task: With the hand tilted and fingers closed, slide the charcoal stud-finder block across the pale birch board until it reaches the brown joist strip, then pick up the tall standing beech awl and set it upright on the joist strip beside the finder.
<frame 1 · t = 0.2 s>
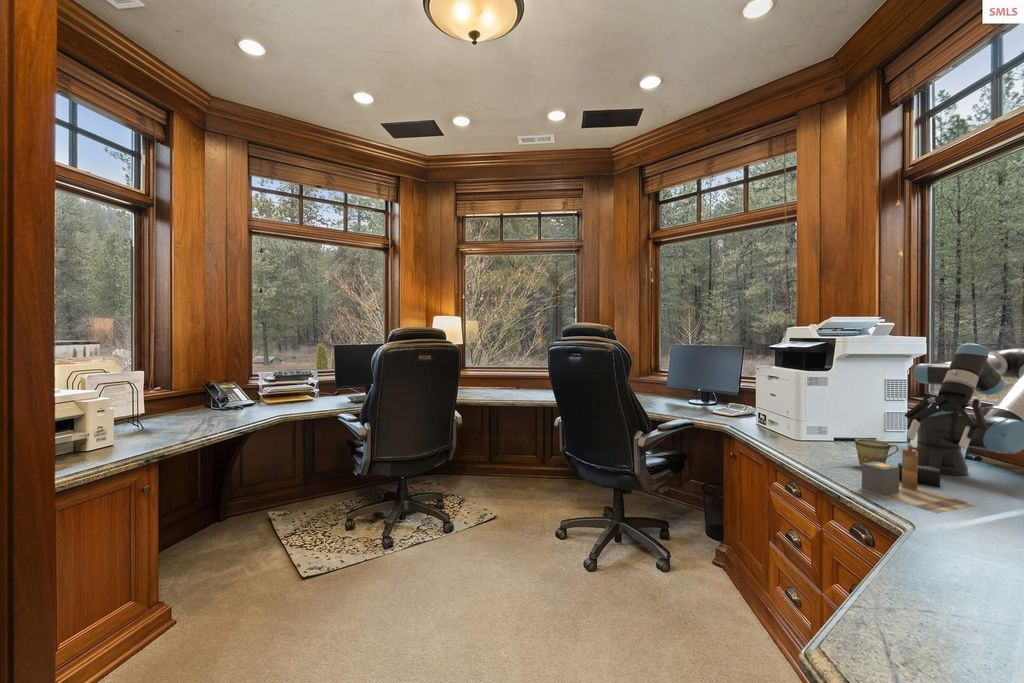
hand: (934, 442, 135), 15 cm above the worktop, tool tilted 35°, fingers open, 13 cm apart
ceramic cup: (876, 469, 157), on the worktop
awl: (909, 487, 134), point 1 cm above the worktop, touching birch board
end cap: (918, 486, 140), on the worktop
stud finder: (880, 490, 132), point 1 cm above the worktop, touching birch board
birch board: (915, 500, 127), on the worktop
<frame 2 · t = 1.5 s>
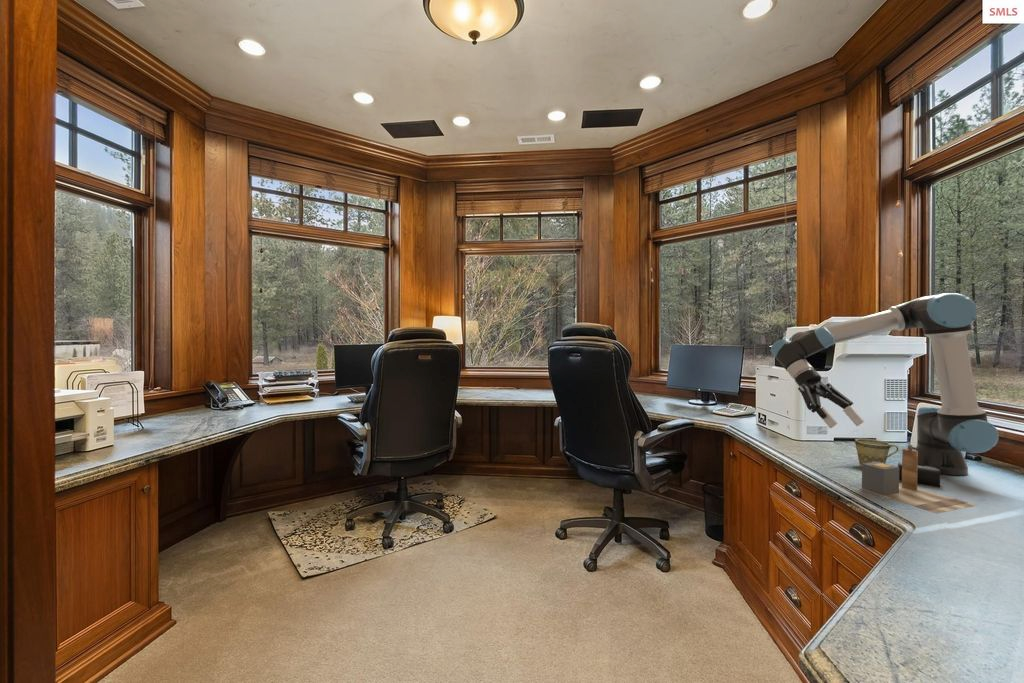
hand: (847, 424, 141), 20 cm above the worktop, tool tilted 45°, fingers open, 12 cm apart
nothing on the worktop moved.
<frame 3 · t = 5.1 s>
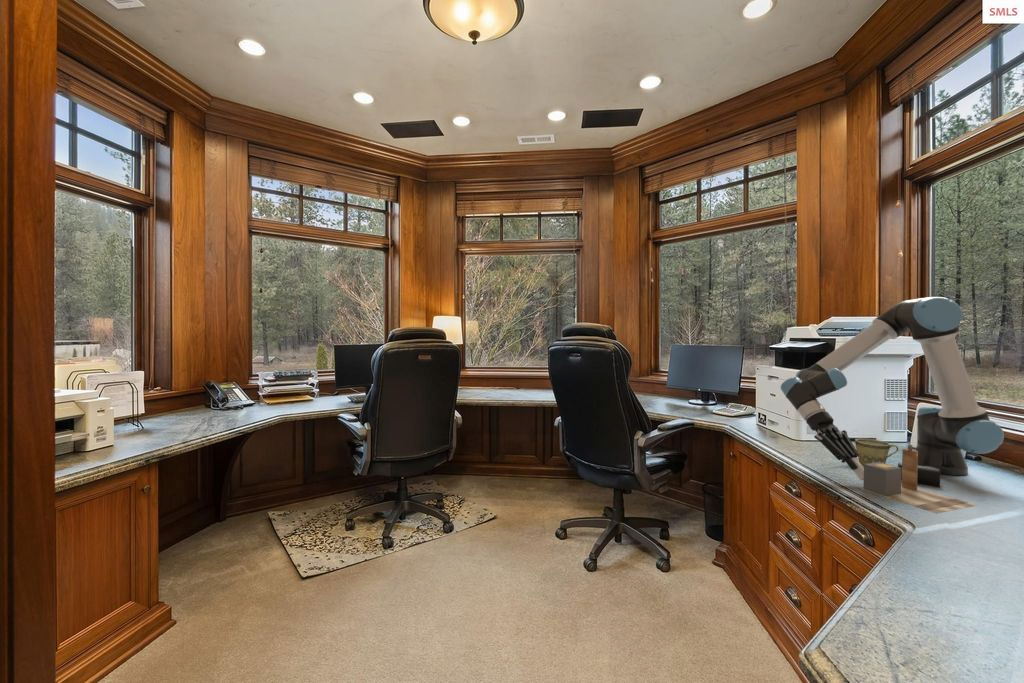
hand: (865, 478, 135), 4 cm above the worktop, tool tilted 45°, fingers closed
stud finder: (881, 491, 131), point 1 cm above the worktop, touching birch board, gripper
everything else where it was.
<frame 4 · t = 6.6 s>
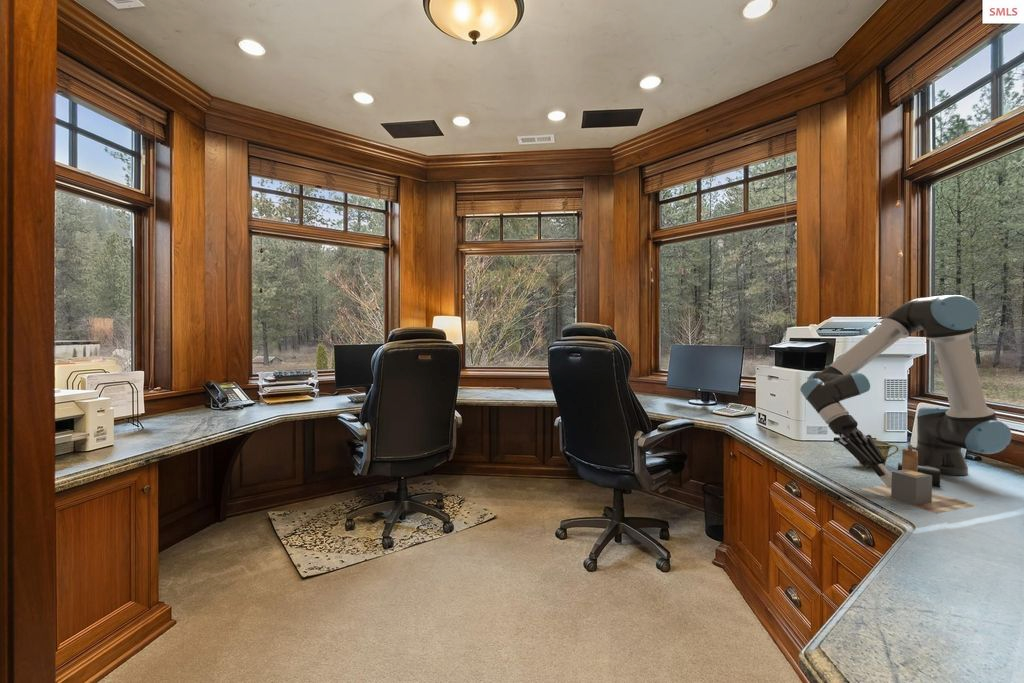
hand: (893, 485, 128), 4 cm above the worktop, tool tilted 45°, fingers closed
stud finder: (911, 500, 124), point 1 cm above the worktop, touching birch board, gripper
everything else where it was.
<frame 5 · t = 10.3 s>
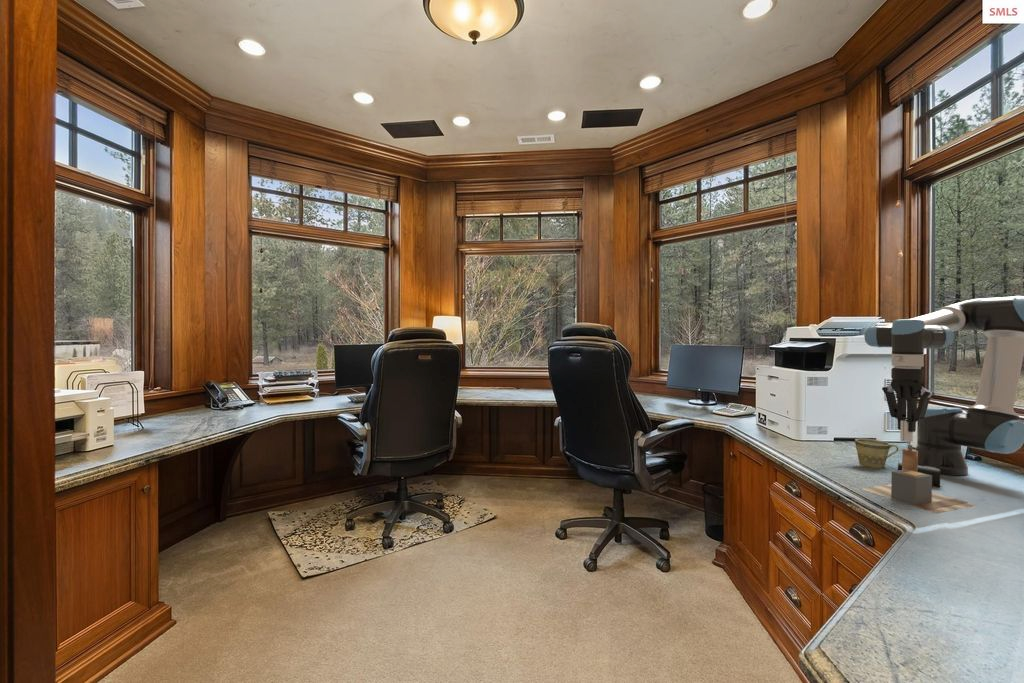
hand: (906, 441, 135), 16 cm above the worktop, tool pointing down, fingers closed
stud finder: (911, 500, 124), point 1 cm above the worktop, touching birch board
everything else where it was.
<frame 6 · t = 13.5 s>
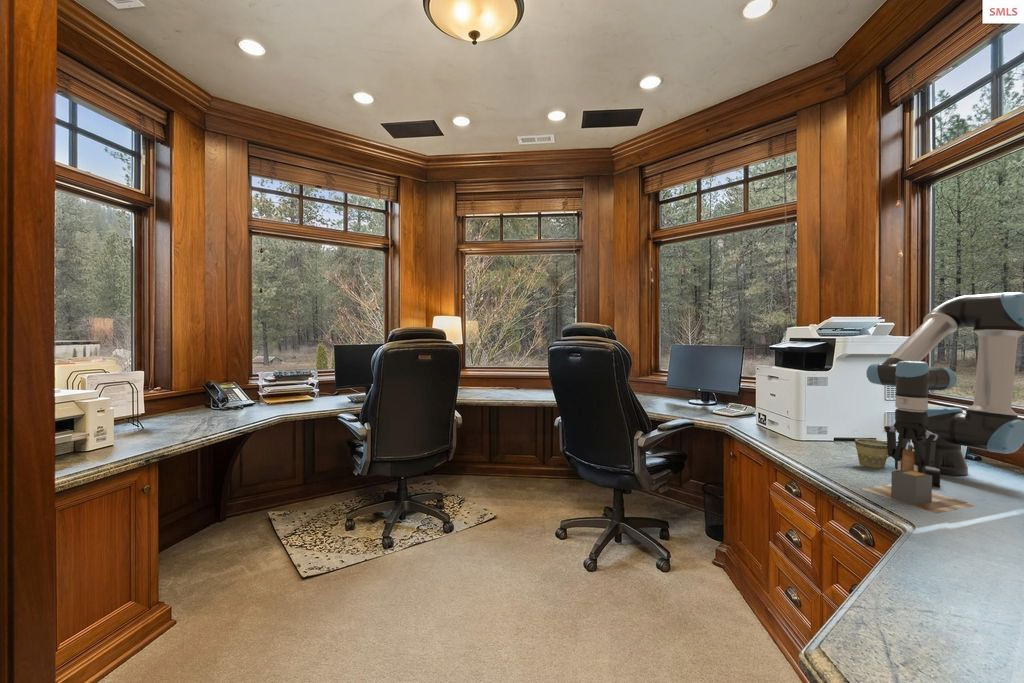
hand: (909, 482, 134), 3 cm above the worktop, tool pointing down, fingers closed on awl, 3 cm apart
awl: (909, 487, 134), point 1 cm above the worktop, touching birch board, gripper
everything else where it was.
when the fingers open (4 cm above the worktop, at t = 17.8 s): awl stays where it is, resting on birch board.
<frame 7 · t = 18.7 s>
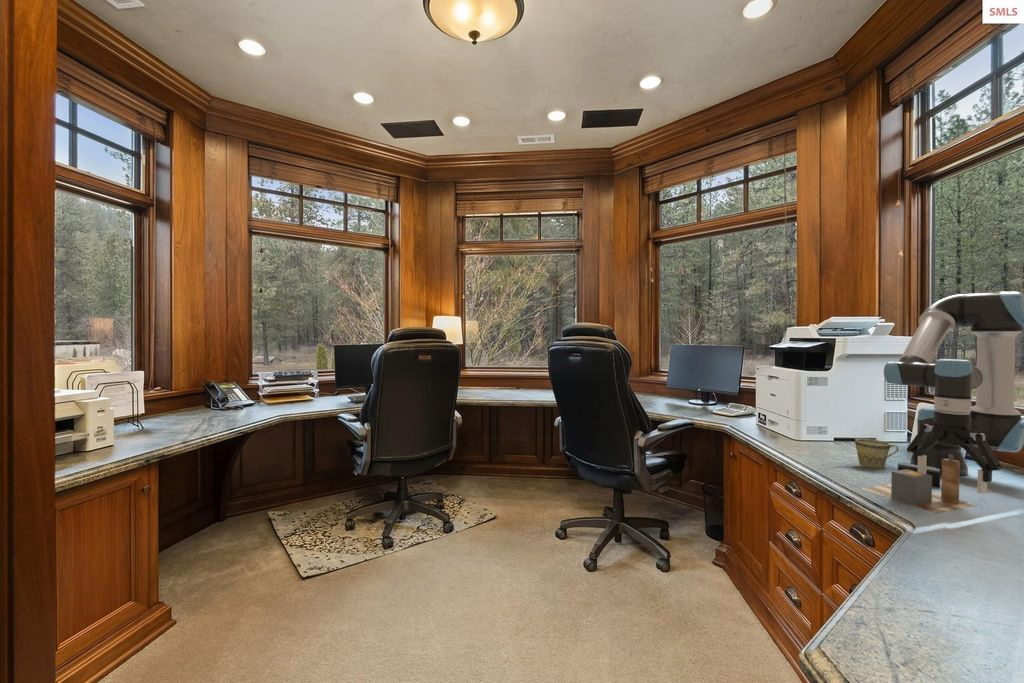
hand: (950, 484, 123), 6 cm above the worktop, tool pointing down, fingers open, 13 cm apart
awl: (949, 501, 123), point 1 cm above the worktop, touching birch board
everything else where it was.
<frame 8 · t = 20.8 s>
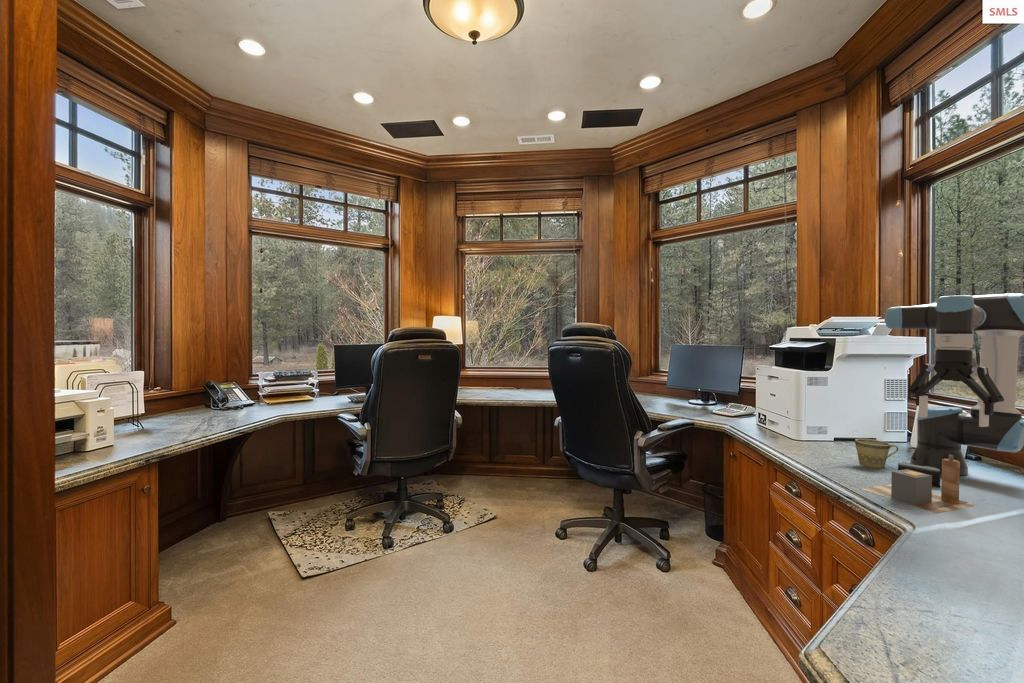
hand: (951, 421, 123), 25 cm above the worktop, tool pointing down, fingers open, 13 cm apart
nothing on the worktop moved.
at the end: stud finder inside the target area (1.5 cm from its centre), point 1.2 cm above the worktop; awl inside the target area (0.1 cm from its centre), point 1.3 cm above the worktop; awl tilted 0° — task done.
